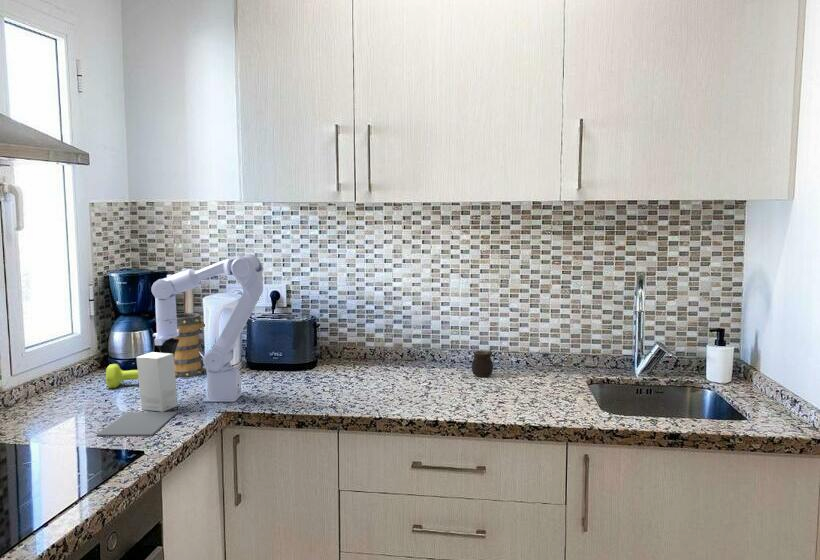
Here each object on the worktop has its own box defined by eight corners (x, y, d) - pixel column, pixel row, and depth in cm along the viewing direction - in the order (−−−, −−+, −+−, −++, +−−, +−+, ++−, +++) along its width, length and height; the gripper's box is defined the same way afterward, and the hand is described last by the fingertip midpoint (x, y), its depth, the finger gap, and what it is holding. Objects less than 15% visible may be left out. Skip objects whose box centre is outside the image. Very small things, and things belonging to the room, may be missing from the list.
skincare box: (178, 406, 198) (175, 353, 196) (161, 413, 192) (158, 358, 190) (156, 403, 201) (153, 350, 200) (138, 409, 195) (135, 355, 194)
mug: (166, 370, 239) (163, 313, 236) (218, 366, 244) (215, 310, 242) (167, 380, 227) (163, 320, 224) (221, 374, 232) (218, 316, 230)
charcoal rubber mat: (177, 413, 192) (177, 411, 192) (152, 435, 174) (151, 434, 174) (127, 413, 192) (127, 412, 192) (96, 436, 174) (96, 434, 174)
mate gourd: (474, 372, 232) (474, 343, 231) (496, 374, 230) (496, 344, 229) (468, 377, 226) (468, 347, 224) (491, 379, 223) (491, 349, 222)
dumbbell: (163, 380, 226) (162, 359, 225) (159, 387, 219) (158, 365, 218) (110, 384, 223) (108, 362, 222) (104, 390, 216) (102, 368, 215)
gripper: (162, 314, 210) (164, 358, 212) (143, 323, 196) (145, 370, 198) (185, 314, 210) (187, 358, 212) (167, 323, 196) (169, 370, 198)
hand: (168, 364), depth 205 cm, fingers closed
